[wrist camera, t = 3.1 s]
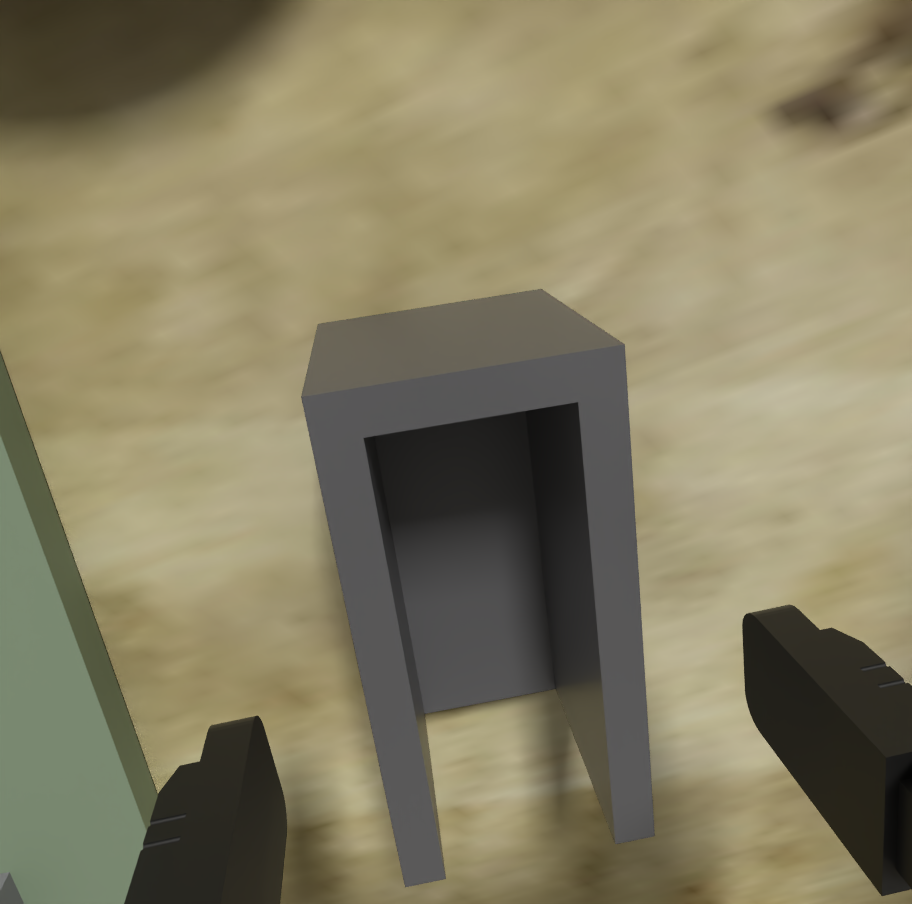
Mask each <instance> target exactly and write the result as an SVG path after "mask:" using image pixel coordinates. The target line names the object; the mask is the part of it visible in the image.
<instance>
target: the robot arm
mask: <svg viewBox="0 0 912 904" xmlns="http://www.w3.org/2000/svg"><path fill="white" fill-rule="evenodd" d="M742 629H743V653H744V677H745V694H746V700H747V704H748V708H749V711H750V714H751V716H752V719H753V721H754V723H755V725H756V727H757V728H758V730H759V731H760V733H761V734H762V736H763V737H764V738H765V740H766V741H767V742H768V744H769V745H770V746H771V748H772V749H773V750H774V752H775V753H776V754H777V756H778V757H779V759H780V760H781V761H782V763H783V764H784V765H785V767H786V768H787V769H788V771H789V772H790V773H791V775H792V776H793V777H794V779H795V780H796V781H797V783H798V784H799V785H800V787H801V788H802V789H803V791H804V792H805V793H806V795H807V796H808V798H809V799H810V800H811V802H812V803H813V804H814V806H815V807H816V808H817V810H818V811H819V812H820V814H821V815H822V816H823V818H824V819H825V820H826V822H827V823H828V824H829V826H830V827H831V828H832V830H833V831H834V832H835V834H836V835H837V837H838V838H839V839H840V841H841V842H842V843H843V845H844V846H845V847H846V849H847V850H848V851H849V853H850V854H851V855H852V857H853V858H854V859H855V861H856V862H857V863H858V865H859V866H860V867H861V869H862V870H863V872H864V873H865V874H866V876H867V877H868V878H869V880H870V881H871V882H872V884H873V885H874V886H875V888H876V889H877V890H878V892H879V893H880V894H881V896H885V895H889V894H893V893H897V892H901V891H906V890H910V889H912V686H911V685H910V684H909V683H906V684H905V682H904V679H903V678H902V677H901V676H900V675H899V674H898V673H897V672H896V671H894V670H893V669H892V668H891V667H890V666H889V667H887V666H886V664H885V662H884V661H883V660H882V659H881V658H880V657H879V656H878V655H877V654H876V653H874V652H873V651H872V650H871V649H870V648H869V647H868V646H867V645H866V644H864V643H863V642H861V641H859V640H857V639H855V638H853V637H851V636H848V635H846V634H844V633H842V632H840V631H838V630H836V629H834V628H828V629H823V630H819V629H818V628H817V627H816V626H815V625H814V624H813V623H812V622H811V621H810V620H809V619H808V618H807V617H806V616H805V615H804V614H803V613H802V612H801V611H799V610H798V609H797V608H796V607H795V606H793V605H785V606H781V607H776V608H771V609H767V610H762V611H757V612H752V613H748V614H746V615H745V616H744V618H743V624H742ZM286 837H287V816H286V807H285V800H284V795H283V791H282V787H281V784H280V780H279V777H278V774H277V770H276V767H275V763H274V760H273V756H272V753H271V750H270V746H269V743H268V739H267V736H266V733H265V729H264V726H263V723H262V721H261V719H260V718H259V716H254V717H249V718H244V719H240V720H235V721H230V722H225V723H221V724H216V725H211V726H210V728H209V729H208V732H207V736H206V740H205V744H204V748H203V752H202V756H201V759H200V762H195V763H191V764H186V765H181V766H179V767H178V769H177V770H176V771H175V773H174V774H173V775H172V776H171V778H170V779H169V780H168V782H167V783H166V784H165V785H164V787H163V788H162V789H161V791H160V792H159V794H158V797H157V800H156V803H155V806H154V809H153V813H152V816H151V819H150V826H148V829H147V832H146V835H145V838H144V841H143V850H141V851H140V854H139V857H138V861H137V864H136V867H135V870H134V873H133V877H132V880H131V883H130V886H129V889H128V893H127V896H126V899H125V902H124V904H280V898H281V888H282V878H283V867H284V857H285V847H286Z"/></svg>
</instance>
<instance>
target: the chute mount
mask: <svg viewBox="0 0 912 904" xmlns="http://www.w3.org/2000/svg"><path fill="white" fill-rule="evenodd" d="M157 797H158V795H157V792H156V789H155V787H154V784H153V781H152V778H151V775H150V773H149V770H148V767H147V764H146V761H145V758H144V756H143V753H142V750H141V747H140V744H139V742H138V739H137V736H136V733H135V730H134V727H133V725H132V722H131V719H130V716H129V713H128V711H127V708H126V705H125V702H124V699H123V697H122V694H121V691H120V688H119V685H118V682H117V680H116V677H115V674H114V671H113V668H112V666H111V663H110V660H109V657H108V654H107V652H106V649H105V646H104V643H103V640H102V637H101V635H100V632H99V629H98V626H97V623H96V621H95V618H94V615H93V612H92V609H91V606H90V604H89V601H88V598H87V595H86V592H85V590H84V587H83V584H82V581H81V578H80V576H79V573H78V570H77V567H76V564H75V561H74V559H73V556H72V553H71V550H70V547H69V545H68V542H67V539H66V536H65V533H64V531H63V528H62V525H61V522H60V519H59V516H58V514H57V511H56V508H55V505H54V502H53V500H52V497H51V494H50V491H49V488H48V485H47V483H46V480H45V477H44V474H43V471H42V469H41V466H40V463H39V460H38V457H37V455H36V452H35V449H34V446H33V443H32V440H31V438H30V435H29V432H28V429H27V426H26V424H25V421H24V418H23V415H22V412H21V410H20V407H19V404H18V401H17V398H16V395H15V393H14V390H13V387H12V384H11V381H10V379H9V376H8V373H7V370H6V367H5V364H4V362H3V359H2V356H1V353H0V904H124V902H125V899H126V896H127V893H128V889H129V886H130V883H131V880H132V877H133V873H134V870H135V867H136V864H137V861H138V857H139V854H140V851H141V850H143V841H144V838H145V835H146V832H147V829H148V826H150V819H151V816H152V813H153V809H154V806H155V803H156V800H157Z"/></svg>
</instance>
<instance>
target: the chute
mask: <svg viewBox="0 0 912 904" xmlns="http://www.w3.org/2000/svg"><path fill="white" fill-rule="evenodd" d="M301 398H302V403H303V407H304V412H305V417H306V421H307V426H308V431H309V436H310V440H311V445H312V450H313V454H314V459H315V464H316V469H317V473H318V478H319V483H320V488H321V492H322V497H323V502H324V506H325V511H326V516H327V521H328V525H329V530H330V535H331V539H332V544H333V549H334V554H335V558H336V563H337V568H338V572H339V577H340V582H341V587H342V591H343V596H344V601H345V605H346V610H347V615H348V620H349V624H350V629H351V634H352V638H353V643H354V648H355V653H356V657H357V662H358V667H359V671H360V676H361V681H362V686H363V690H364V695H365V700H366V704H367V709H368V714H369V719H370V723H371V728H372V733H373V737H374V742H375V747H376V752H377V756H378V761H379V766H380V770H381V775H382V780H383V785H384V789H385V794H386V799H387V803H388V808H389V813H390V818H391V822H392V827H393V832H394V836H395V841H396V846H397V851H398V855H399V860H400V865H401V869H402V874H403V879H404V884H405V887H409V886H414V885H419V884H423V883H428V882H433V881H438V880H443V879H446V876H445V868H444V860H443V853H442V845H441V837H440V829H439V821H438V814H437V806H436V798H435V790H434V782H433V774H432V767H431V759H430V751H429V743H428V735H427V728H426V720H425V714H426V713H431V712H437V711H442V710H447V709H452V708H458V707H463V706H468V705H473V704H479V703H484V702H489V701H494V700H500V699H505V698H510V697H515V696H521V695H526V694H531V693H536V692H542V691H547V690H552V689H556V691H557V693H558V696H559V698H560V701H561V704H562V706H563V709H564V712H565V714H566V717H567V719H568V722H569V725H570V727H571V730H572V732H573V735H574V738H575V740H576V743H577V745H578V748H579V751H580V753H581V756H582V758H583V761H584V764H585V766H586V769H587V771H588V774H589V777H590V779H591V782H592V784H593V787H594V790H595V792H596V795H597V797H598V800H599V803H600V805H601V808H602V810H603V813H604V816H605V818H606V821H607V823H608V826H609V829H610V831H611V834H612V836H613V839H614V842H615V844H619V843H624V842H629V841H634V840H638V839H643V838H648V837H653V836H655V833H654V817H653V800H652V784H651V768H650V751H649V735H648V719H647V702H646V686H645V670H644V653H643V637H642V621H641V604H640V588H639V572H638V555H637V539H636V522H635V506H634V490H633V473H632V457H631V441H630V424H629V408H628V392H627V375H626V359H625V344H623V343H622V342H620V341H619V340H617V339H616V338H614V337H613V336H611V335H610V334H608V333H607V332H605V331H604V330H602V329H601V328H599V327H598V326H596V325H595V324H593V323H592V322H590V321H589V320H587V319H586V318H584V317H583V316H581V315H580V314H578V313H577V312H575V311H574V310H572V309H571V308H569V307H568V306H566V305H565V304H563V303H562V302H560V301H559V300H557V299H556V298H554V297H553V296H551V295H550V294H548V293H547V292H545V291H544V290H542V289H538V290H532V291H525V292H519V293H513V294H506V295H500V296H493V297H487V298H481V299H474V300H468V301H461V302H455V303H449V304H442V305H436V306H430V307H423V308H417V309H410V310H404V311H398V312H391V313H385V314H378V315H372V316H366V317H359V318H353V319H347V320H340V321H334V322H327V323H321V324H318V326H317V330H316V335H315V339H314V343H313V348H312V352H311V357H310V361H309V365H308V370H307V374H306V379H305V383H304V387H303V392H302V396H301Z"/></svg>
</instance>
